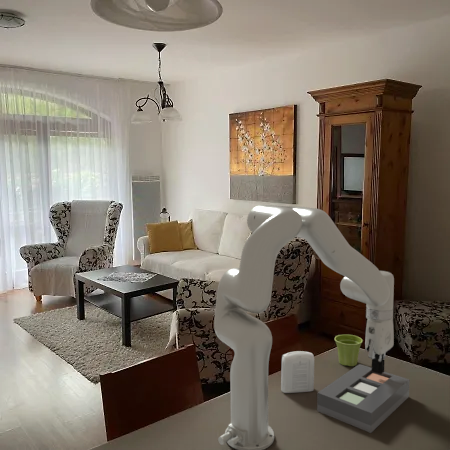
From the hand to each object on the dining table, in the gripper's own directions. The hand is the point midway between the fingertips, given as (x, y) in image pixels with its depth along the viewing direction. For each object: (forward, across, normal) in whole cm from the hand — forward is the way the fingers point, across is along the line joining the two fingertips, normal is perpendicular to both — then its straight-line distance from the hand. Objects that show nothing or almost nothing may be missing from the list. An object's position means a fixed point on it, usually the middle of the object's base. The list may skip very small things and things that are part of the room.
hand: (377, 371), depth 138 cm
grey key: (+4, -8, 0) cm, 9 cm away
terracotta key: (+4, 0, 0) cm, 4 cm away
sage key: (+3, -16, 0) cm, 17 cm away
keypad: (+7, -8, 0) cm, 11 cm away
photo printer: (+7, -14, +19) cm, 25 cm away
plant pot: (+7, +14, +17) cm, 23 cm away
